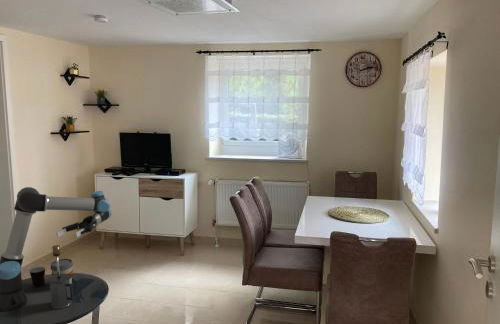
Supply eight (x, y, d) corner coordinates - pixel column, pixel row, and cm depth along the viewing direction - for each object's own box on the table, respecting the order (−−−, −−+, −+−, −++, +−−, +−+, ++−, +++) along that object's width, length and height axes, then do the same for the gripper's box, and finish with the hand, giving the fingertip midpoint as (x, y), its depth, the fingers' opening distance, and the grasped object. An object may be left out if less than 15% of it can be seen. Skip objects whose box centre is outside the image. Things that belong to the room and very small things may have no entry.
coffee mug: (40, 288, 252) (38, 272, 251) (27, 287, 254) (26, 272, 252) (52, 280, 264) (51, 265, 262) (41, 279, 265) (39, 264, 264)
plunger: (49, 286, 227) (45, 248, 224) (57, 280, 234) (54, 243, 231) (61, 287, 226) (57, 249, 222) (69, 281, 233) (66, 244, 229)
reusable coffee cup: (48, 286, 254) (45, 263, 252) (67, 279, 264) (65, 257, 262) (59, 292, 247) (57, 268, 245) (78, 284, 257) (76, 261, 255)
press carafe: (47, 308, 228) (44, 281, 225) (59, 299, 238) (56, 273, 235) (67, 310, 225) (65, 282, 223) (79, 301, 235) (76, 274, 233)
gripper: (109, 227, 252) (85, 241, 233) (76, 226, 261) (51, 240, 241) (107, 215, 250) (82, 229, 231) (74, 215, 259) (48, 228, 240)
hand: (66, 235), depth 236 cm, fingers open, 13 cm apart
